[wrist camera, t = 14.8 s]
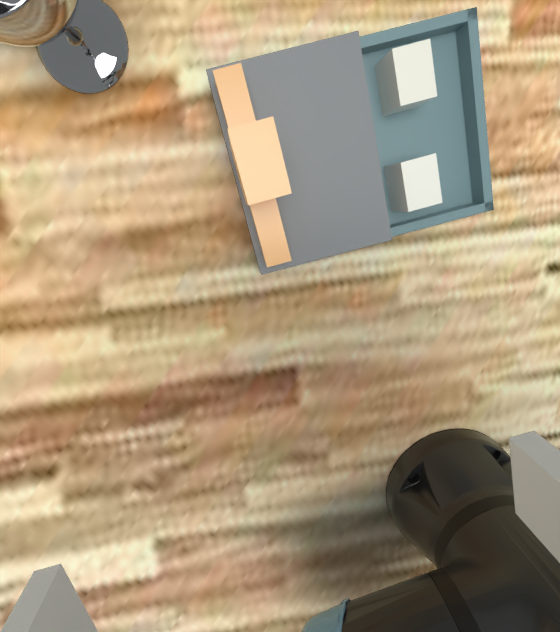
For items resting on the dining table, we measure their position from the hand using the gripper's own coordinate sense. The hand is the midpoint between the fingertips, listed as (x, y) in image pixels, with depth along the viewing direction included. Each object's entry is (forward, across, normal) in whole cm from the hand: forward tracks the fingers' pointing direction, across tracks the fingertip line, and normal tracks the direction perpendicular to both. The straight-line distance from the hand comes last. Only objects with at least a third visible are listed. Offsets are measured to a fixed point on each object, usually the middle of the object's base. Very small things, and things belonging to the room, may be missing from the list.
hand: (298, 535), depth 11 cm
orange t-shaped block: (+25, -2, -11) cm, 27 cm away
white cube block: (+26, -14, -7) cm, 31 cm away
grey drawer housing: (+29, -7, -11) cm, 32 cm away
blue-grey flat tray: (+29, -18, -11) cm, 36 cm away
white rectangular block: (+26, -15, -15) cm, 34 cm away
